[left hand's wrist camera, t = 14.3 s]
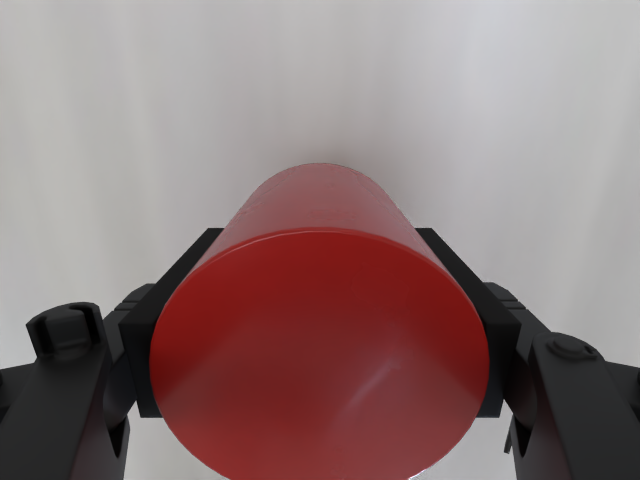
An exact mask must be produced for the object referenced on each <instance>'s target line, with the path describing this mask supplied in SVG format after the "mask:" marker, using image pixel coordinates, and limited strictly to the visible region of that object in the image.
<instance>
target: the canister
mask: <svg viewBox="0 0 640 480" xmlns="http://www.w3.org/2000/svg"><path fill="white" fill-rule="evenodd" d="M489 361H490V360H489V351H488V342H487V338H486V334H485V331H484V328H483V324H482V321H481V319H480V317H479V315H478V313H477V311H476V309H475V307H474V305H473V303H472V302H471V300H470V299H469V297H468V296H467V295H466V293H465V292H464V290H463V289H462V288H461V286H460V285H459V284H458V282H457V281H456V280H455V279H454V277H453V276H452V275H451V274H450V272H449V271H448V270H447V269H446V267H445V266H444V265H443V264H442V262H441V261H440V260H439V259H438V257H437V256H436V255H435V254H434V252H433V251H432V250H431V249H430V247H429V246H428V245H427V244H426V242H425V241H424V240H423V239H422V237H421V236H420V235H419V234H418V232H417V231H416V230H415V229H414V227H413V226H412V225H411V224H410V222H409V221H408V220H407V219H406V217H405V216H404V215H403V214H402V212H401V211H400V210H399V209H398V207H397V206H396V205H395V204H394V202H393V201H392V200H391V199H390V197H389V196H388V195H387V194H386V193H385V191H384V190H383V189H382V188H381V187H380V186H379V185H378V184H376V183H375V182H374V181H372V180H371V179H370V178H368V177H367V176H365V175H363V174H362V173H360V172H357V171H355V170H353V169H350V168H347V167H344V166H340V165H335V164H327V163H312V164H304V165H299V166H296V167H292V168H289V169H287V170H284V171H282V172H279V173H278V174H276V175H274V176H273V177H271V178H269V179H268V180H267V181H265V182H264V183H263V184H262V185H260V186H259V187H258V189H257V190H256V191H255V192H254V193H253V194H252V195H251V196H250V197H249V199H248V200H247V201H246V202H245V204H244V205H243V206H242V207H241V209H240V210H239V211H238V212H237V214H236V215H235V216H234V217H233V219H232V220H231V221H230V222H229V224H228V225H227V226H226V227H225V229H224V230H223V231H222V232H221V233H220V235H219V236H218V237H217V238H216V240H215V241H214V242H213V243H212V245H211V246H210V247H209V248H208V250H207V251H206V252H205V253H204V255H203V256H202V257H201V258H200V260H199V261H198V262H197V263H196V265H195V266H194V267H193V268H192V269H191V271H190V272H189V273H188V274H187V276H186V277H185V278H184V279H183V281H182V282H181V283H180V284H179V286H178V287H177V288H176V290H175V291H174V292H173V294H172V295H171V297H170V298H169V300H168V301H167V303H166V304H165V306H164V308H163V310H162V312H161V314H160V316H159V318H158V320H157V322H156V326H155V329H154V333H153V336H152V340H151V347H150V356H149V369H150V381H151V386H152V390H153V395H154V398H155V400H156V403H157V406H158V408H159V411H160V413H161V415H162V417H163V418H164V420H165V422H166V424H167V425H168V427H169V429H170V430H171V431H172V432H173V434H174V435H175V436H176V438H177V439H178V440H179V442H180V443H181V444H182V445H183V446H184V447H185V448H186V449H187V450H188V451H189V452H190V453H191V454H192V455H194V456H195V457H196V458H197V459H199V460H200V461H201V462H202V463H204V464H205V465H206V466H208V467H209V468H211V469H212V470H214V471H216V472H217V473H219V474H220V475H222V476H224V477H226V478H228V479H230V480H409V479H411V478H413V477H415V476H417V475H418V474H420V473H422V472H423V471H425V470H426V469H428V468H429V467H431V466H433V465H434V464H435V463H436V462H438V461H439V460H440V459H441V458H443V457H444V456H445V455H446V454H447V453H448V452H449V451H450V450H451V449H452V448H453V447H454V446H455V445H456V444H457V443H458V442H459V441H460V440H461V439H462V437H463V436H464V435H465V433H466V432H467V431H468V429H469V428H470V427H471V425H472V423H473V421H474V419H475V418H476V416H477V414H478V412H479V410H480V407H481V405H482V402H483V399H484V397H485V393H486V388H487V384H488V379H489Z"/></svg>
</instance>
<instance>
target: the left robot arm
mask: <svg viewBox="0 0 640 480" xmlns="http://www.w3.org/2000/svg"><path fill="white" fill-rule="evenodd" d="M224 229H225V228H208V229H207V230H206V231H205V232H204V233H203V234H202V235H201V236H200V237H199V238H198V239H197V241H196V242H195V243H194V244H193V245H192V246H191V247H190V248H189V249H188V250H187V251H186V252H185V253H184V254H183V255H182V256H181V258H180V259H179V260H178V261H177V262H176V263H175V264H174V265H173V266H172V267H171V268H170V269H169V270H168V271H167V272H166V273H165V274H164V276H163V277H162V278H161V279H160V280H159V281H158V282H157V283H156V284H145V285H143V286H141V287H140V288H138V289H136V290H134V291H132V292H131V293H130V294H129V295H128V296H127V297H126V298H125V299H124V300H123V301H122V303H120V304H119V305H118V306H117V307H116V308H115V309H114V311H111V312H110V313H109V314H108V315H107V316H106V317H105V318H104V319H103V320H102V316H101V312H100V309H99V306H97V305H96V304H94V303H89V302H77V303H69V304H65V305H61V306H57V307H54V308H52V309H49V310H46V311H44V312H42V313H40V314H39V315H37V316H35V317H33V318H32V319H31V320H30V321H29V322H28V323H27V324H26V327H27V330H28V333H29V336H30V339H31V341H32V344H33V347H34V350H35V353H36V355H37V359H36V360H35V362H34V363H31V364H26V365H21V366H16V367H11V368H5V369H0V480H123V477H124V470H125V463H126V456H127V449H128V441H129V434H130V425H129V420H128V416H127V414H128V412H129V410H130V409H131V407H132V406H133V404H134V403H135V401H137V405H138V409H139V413H140V417H141V418H163V417H162V415H161V413H160V411H159V408H158V406H157V403H156V400H155V398H154V395H153V390H152V386H151V381H150V369H149V356H150V347H151V340H152V336H153V333H154V329H155V326H156V322H157V320H158V318H159V316H160V314H161V312H162V310H163V308H164V306H165V304H166V303H167V301H168V300H169V298H170V297H171V295H172V294H173V292H174V291H175V290H176V288H177V287H178V286H179V284H180V283H181V282H182V281H183V279H184V278H185V277H186V276H187V274H188V273H189V272H190V271H191V269H192V268H193V267H194V266H195V265H196V263H197V262H198V261H199V260H200V258H201V257H202V256H203V255H204V253H205V252H206V251H207V250H208V248H209V247H210V246H211V245H212V243H213V242H214V241H215V240H216V238H217V237H218V236H219V235H220V233H221V232H222V231H223V230H224ZM414 229H415V230H416V231H417V232H418V234H419V235H420V236H421V237H422V239H423V240H424V241H425V242H426V244H427V245H428V246H429V247H430V249H431V250H432V251H433V252H434V254H435V255H436V256H437V257H438V259H439V260H440V261H441V262H442V264H443V265H444V266H445V267H446V269H447V270H448V271H449V272H450V274H451V275H452V276H453V277H454V279H455V280H456V281H457V282H458V284H459V285H460V286H461V288H462V289H463V290H464V292H465V293H466V295H467V296H468V297H469V299H470V300H471V302H472V303H473V305H474V307H475V309H476V311H477V313H478V315H479V317H480V319H481V321H482V324H483V328H484V331H485V334H486V338H487V342H488V351H489V360H490V361H489V379H488V384H487V388H486V393H485V397H484V399H483V402H482V405H481V407H480V410H479V412H478V414H477V416H476V418H499V416H500V412H501V408H502V404H503V400H504V399H505V401H506V403H507V404H508V406H509V407H510V409H511V410H512V412H513V416H512V420H511V424H510V427H509V431H508V435H507V439H506V443H505V448H504V453H508V454H509V452H510V448H511V446H512V448H513V455H514V462H515V469H516V476H517V480H640V368H638V367H633V366H628V365H622V364H617V363H612V362H607V361H605V360H604V358H603V356H602V355H601V354H600V353H599V352H598V351H597V350H596V349H595V348H594V347H592V346H591V345H589V344H588V343H586V342H584V341H582V340H580V339H577V338H575V337H573V336H569V335H566V334H562V333H556V332H551V331H550V330H549V329H548V328H547V327H546V326H545V325H543V324H542V323H541V322H540V321H539V320H538V319H537V318H536V317H535V316H534V315H533V314H532V313H531V312H530V311H529V310H528V309H526V307H525V306H524V305H523V304H522V303H521V302H518V300H517V299H516V298H515V297H514V296H513V295H512V294H511V293H510V292H509V291H508V290H506V289H504V288H503V287H501V286H499V285H497V284H495V283H493V282H482V281H481V280H480V279H479V278H478V277H477V276H476V275H475V274H474V273H473V272H472V270H471V269H470V268H469V267H468V266H467V265H466V264H465V263H464V262H463V261H462V260H461V259H460V258H459V257H458V256H457V255H456V254H455V252H454V251H453V250H452V249H451V248H450V247H449V246H448V245H447V244H446V243H445V242H444V241H443V240H442V239H441V238H440V237H439V236H438V234H437V233H436V232H435V231H434V230H433V229H432V228H414Z"/></svg>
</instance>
